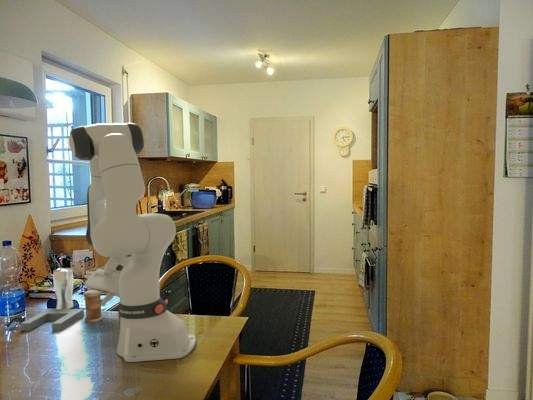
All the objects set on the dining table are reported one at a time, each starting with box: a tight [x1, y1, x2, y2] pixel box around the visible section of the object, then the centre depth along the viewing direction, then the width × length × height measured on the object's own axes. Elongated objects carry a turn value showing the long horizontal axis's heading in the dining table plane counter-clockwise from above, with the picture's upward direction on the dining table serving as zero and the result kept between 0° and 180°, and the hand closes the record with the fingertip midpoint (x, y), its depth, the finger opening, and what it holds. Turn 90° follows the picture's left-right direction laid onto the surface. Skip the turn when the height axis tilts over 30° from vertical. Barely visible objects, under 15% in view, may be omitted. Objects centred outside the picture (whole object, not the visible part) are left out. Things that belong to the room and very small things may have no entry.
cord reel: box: [82, 290, 104, 324], centre depth 139 cm, size 6×6×10 cm
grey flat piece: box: [20, 308, 85, 332], centre depth 137 cm, size 14×14×2 cm
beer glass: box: [52, 267, 75, 309], centre depth 153 cm, size 7×7×15 cm
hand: (93, 302), depth 139 cm, fingers open, 8 cm apart
